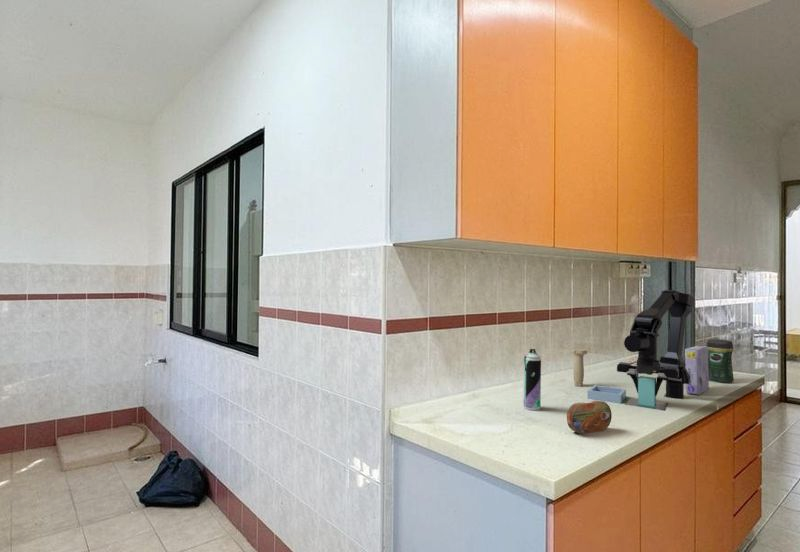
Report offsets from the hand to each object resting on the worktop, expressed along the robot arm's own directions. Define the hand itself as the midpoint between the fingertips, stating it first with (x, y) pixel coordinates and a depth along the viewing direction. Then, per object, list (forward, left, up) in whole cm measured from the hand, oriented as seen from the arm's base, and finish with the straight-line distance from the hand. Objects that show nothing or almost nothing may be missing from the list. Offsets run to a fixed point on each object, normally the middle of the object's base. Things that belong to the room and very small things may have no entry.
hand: (647, 394), depth 159 cm
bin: (0, -13, -4) cm, 14 cm away
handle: (-17, -27, -4) cm, 32 cm away
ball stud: (0, 0, -4) cm, 4 cm away
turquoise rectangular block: (0, 0, -3) cm, 3 cm away
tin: (+42, -10, -4) cm, 43 cm away
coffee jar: (-68, +21, -4) cm, 71 cm away
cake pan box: (-38, +14, -4) cm, 41 cm away
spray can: (+29, -31, -4) cm, 43 cm away
